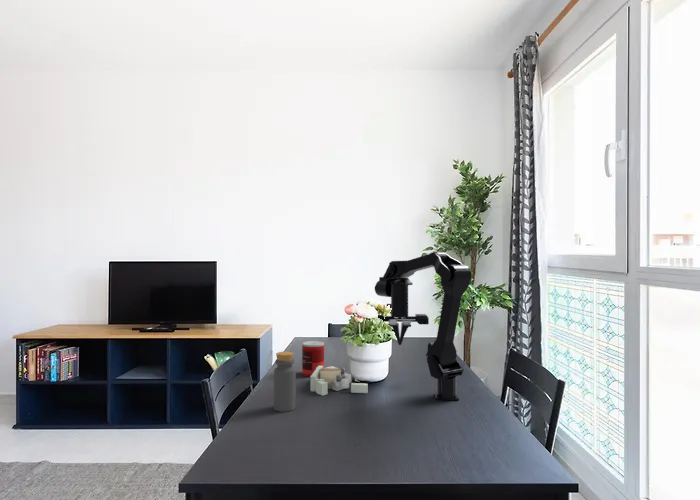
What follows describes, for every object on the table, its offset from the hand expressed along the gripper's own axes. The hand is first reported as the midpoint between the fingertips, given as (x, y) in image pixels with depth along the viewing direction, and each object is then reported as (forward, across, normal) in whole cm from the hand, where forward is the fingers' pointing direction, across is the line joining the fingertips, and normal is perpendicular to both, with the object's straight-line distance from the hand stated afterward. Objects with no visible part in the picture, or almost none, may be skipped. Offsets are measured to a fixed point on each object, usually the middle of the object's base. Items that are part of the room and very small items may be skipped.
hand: (399, 344), depth 149 cm
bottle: (+12, +33, +30) cm, 46 cm away
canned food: (+12, +30, -6) cm, 33 cm away
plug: (+12, +23, +7) cm, 27 cm away
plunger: (+12, +19, +3) cm, 22 cm away
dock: (+12, +19, +7) cm, 23 cm away
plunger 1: (+12, +19, +11) cm, 25 cm away
